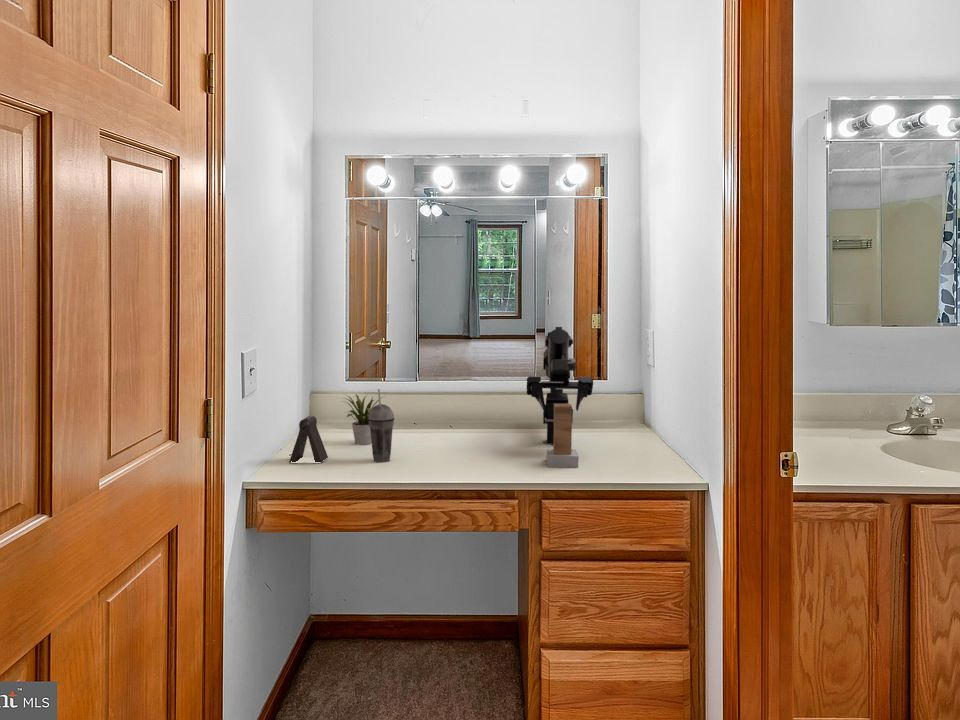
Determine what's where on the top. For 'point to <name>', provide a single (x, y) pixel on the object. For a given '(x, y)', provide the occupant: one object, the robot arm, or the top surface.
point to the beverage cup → (381, 431)
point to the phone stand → (314, 441)
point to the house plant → (361, 421)
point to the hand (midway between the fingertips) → (560, 409)
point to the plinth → (562, 459)
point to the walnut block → (562, 429)
